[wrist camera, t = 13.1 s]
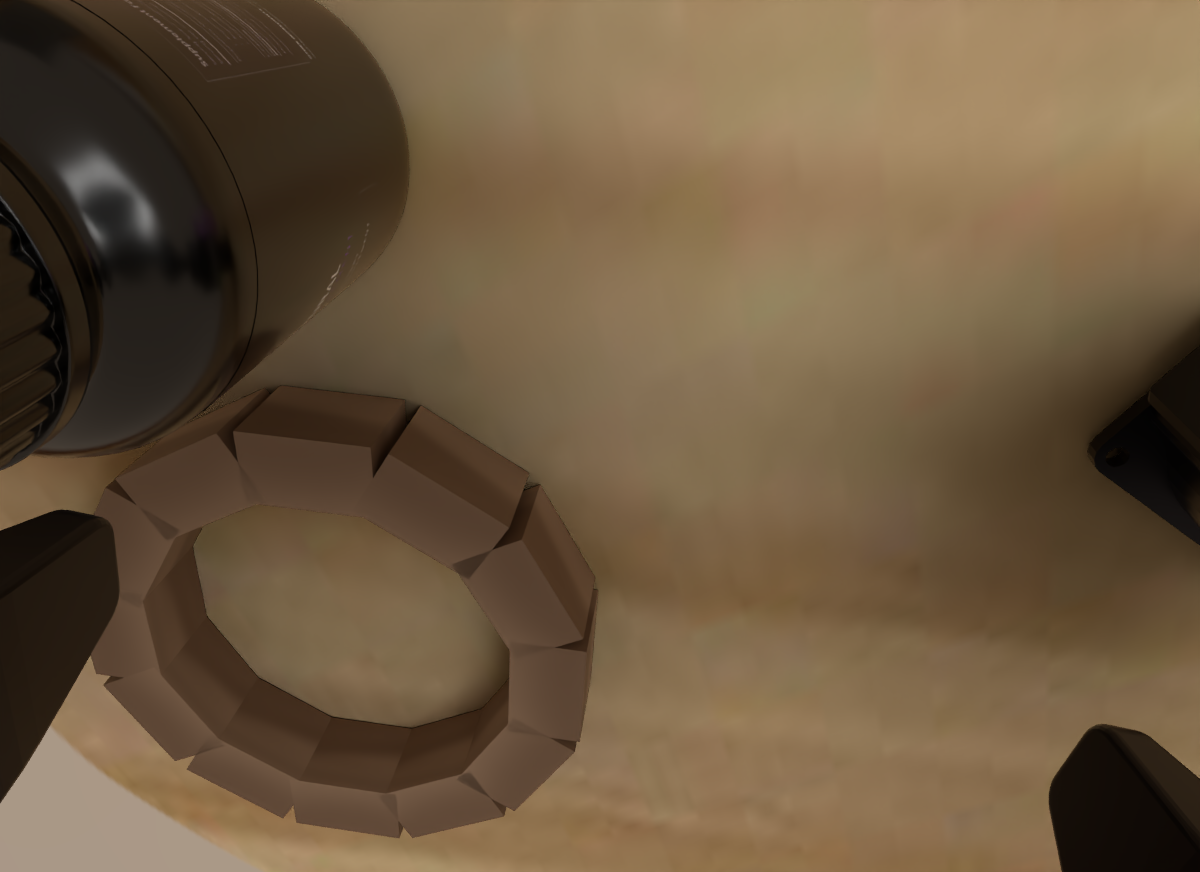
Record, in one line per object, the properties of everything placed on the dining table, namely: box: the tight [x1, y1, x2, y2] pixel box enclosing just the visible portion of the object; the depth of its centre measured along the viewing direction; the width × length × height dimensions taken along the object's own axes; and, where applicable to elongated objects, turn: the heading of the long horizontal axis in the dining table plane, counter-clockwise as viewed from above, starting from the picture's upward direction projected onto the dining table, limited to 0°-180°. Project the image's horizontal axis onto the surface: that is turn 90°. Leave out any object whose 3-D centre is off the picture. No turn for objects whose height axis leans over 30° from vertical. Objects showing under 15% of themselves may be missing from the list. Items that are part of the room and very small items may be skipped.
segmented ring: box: [91, 386, 598, 838], centre depth 24 cm, size 14×14×2 cm
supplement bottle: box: [0, 0, 410, 471], centre depth 14 cm, size 7×7×12 cm
